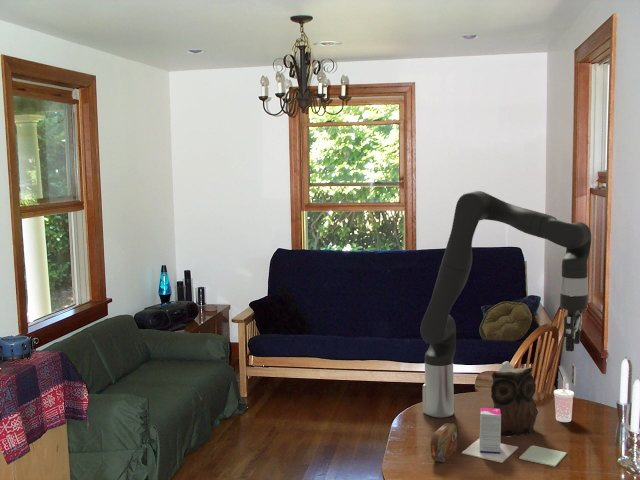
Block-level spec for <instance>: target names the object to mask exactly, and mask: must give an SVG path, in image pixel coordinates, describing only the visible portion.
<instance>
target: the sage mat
mask: <svg viewBox="0 0 640 480" xmlns="http://www.w3.org/2000/svg"><path fill="white" fill-rule="evenodd" d="M567 453H568V452H567V451H565V452H564V451H561V450H556V449H552V448H547V447H543V446H542V447H541V446H539V445H538V446H537V445H531V446H529V447H528V448H527V449H526V450H525V451H524V452H523V453H522V454H521V455H520V456H519V457H518V459H519V460H523V461H528V462H531V463H537V464H541V465H545V466H550V467H554V468H556V466H557V465H558V464H559V463H560V462H561V461H562V460H563V459H564V458H565V457H566V455H567Z"/></svg>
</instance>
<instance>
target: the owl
mask: <svg viewBox="0 0 640 480" xmlns="http://www.w3.org/2000/svg"><path fill="white" fill-rule="evenodd" d="M532 371H533V367H532V366H531V367H530V366H529V367H522V368H521V367H520V368H514V369H508V370H504V371H500V372H499V371H493V372H492V374H491V378H492V383H491V387H490V389H491V390H490V397H491V399H492V402H493V408H495V409H500V411H501V437H507V436H512V437H514V436H521V434H522V435H528V434H530V433H531V432H532V431H533V430H534V426H535V424H536V420H537V417H538V414H539V411H538V408H537V403H536V402H535V401H534V399H533V397H534V395H535V394H536V391H537V390H536V389H537V388H536V387H537V384H536V380H535V377H534V376H533V374H532ZM513 435H514V436H513Z"/></svg>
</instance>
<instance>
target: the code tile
mask: <svg viewBox="0 0 640 480" xmlns="http://www.w3.org/2000/svg"><path fill="white" fill-rule="evenodd" d="M518 449H519V446H516V445H511V444H507V443H501V445H500V454H493V453H480V438H477V439H476V440H475V441H474V442H473V443H472V444H471V445H469V446H467V448H466V449H464V450H463V451H461V454H462V455H467V456H471V457H476V458H479V459H484V460H489V461H491V462H492V461H493V462H497V463H504V462H505V461H506V460H507V459H508V458H509V457H510V456H511V455H512V454H513V453H514V452H515V451H517V450H518Z"/></svg>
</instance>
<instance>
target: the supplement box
mask: <svg viewBox="0 0 640 480" xmlns="http://www.w3.org/2000/svg"><path fill="white" fill-rule="evenodd" d="M479 412H480V420H479V439H480V453H493V454H500V445H501V442H502V441H501V438H502V436H501V411H500V409H495V408H494V407H493V408H490V407H480V411H479Z"/></svg>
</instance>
